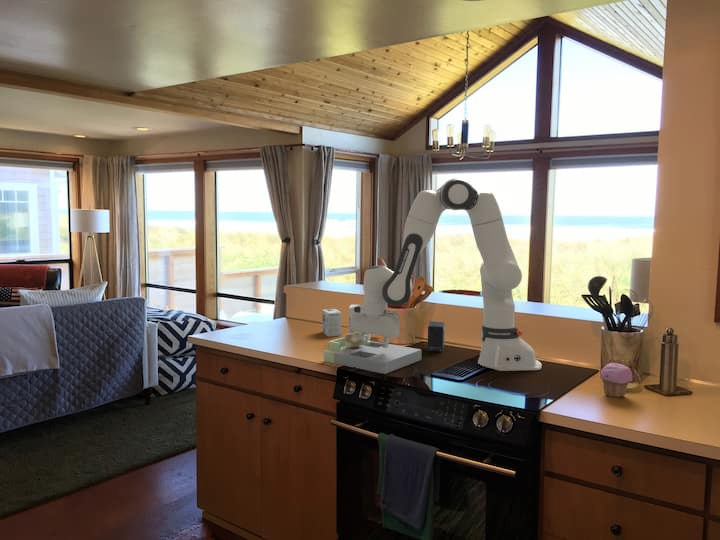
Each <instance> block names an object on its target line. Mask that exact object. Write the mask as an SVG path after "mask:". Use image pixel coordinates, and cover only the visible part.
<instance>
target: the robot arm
mask: <svg viewBox="0 0 720 540" xmlns="http://www.w3.org/2000/svg"><path fill="white" fill-rule="evenodd" d="M498 203H499V202H498V201H497V199H496V197H495V195H494V194H493V192H491V191H488V190H480V191H478V190H477V189H475V188H474V187H473V186H472V185H471V184H470V183H469V182H468V181H466V180H465V179H463V178H452V179H448V180H447V181H445V183H443V184H442V185H441V186H440V187H439V188H438V189H437V190H436V191H435V190H430V189H426V190H421V191H419V192H418V194H417V195H416V197H415V199H414V201H413V203H412V204H411V206H410V209H409V211H408V215H407V217H406V221H405V224H404V230H403V238H402V245H401V246H402V247H401V251H400V254H399V256H398V260H397V263H396V266H395V268H394V271H393V270H392V269H390V268H388V267H387V266H386V265H382V264H380V265H373V266H369V267H368V268H367V269H366V270H365V271H364V275H363V276H364V277H363V292H364V293H363V294H364V297H363V303H361V304H357V305H358V306H355V307H353V308H352V312H354V313H353V314H352V317H351V328H352V330H353V331H357V332H359V335H360V337H361V339H362V344H367V343H368V342H367V341H368V339H366V337H365V335H364V334H366V333H369V334H370V335H377V336H382V337H384V339H385V341H384V342H381V343H382V345H383V346H382V347H383V348H388V344H390V341H391V340H392V338H397V337H398V336H399V335H400V333H401V329H400V328H401V327H400V326H401V325H400V316H399V314H398V313H397V312H396V311H392V310H391V311H390V310H388V305H390V306H391V307H402V306H404V305H406V304H407V303H408V301H409V300H410V298H411V295H412V292H413V288H414V285H413V282H412V280H411V279H412V276H413V273H414V270H415V268H416V264H417V262H418V259H419V256H420V255H421V254H422V252H423V250H424V249H425V248H426V246H427V245H428V244H429V243H430V241H431V239H432V238H433V236H434V233H436V232H435V231H436V228H437V225H438V223H439V220H440V218H441V216H442V214H443V212H444V211H446V210H452V211H462V210H463V211H466V213H467V215H468V217H469V220H470V224H471V228H472V232H473V237H474V240H475V243H476V248H477V250H478V252H479V254H480V257H481V259H482V261H483V262H482V264H481V265H480V269H479V273H480V281H481V292H482V301H483V317H482V318H483V321H482V322H483V323H482V325H481V333H480V335H481V349H480V354H479V357H478V360H477V363H478V365H479V364H480V366H481V365H482V367H484V366H485V367H484V368H489V369H493V370H496V371H498V372H499V371H500V372H501V371H502V372H504V371H505V372H509V371H512V372H515V371H516V372H517V371H539V370H542V367H543V365H542V362H540V361H539V360H538V359H537V357H536V353H535V350H534V348H533V347H532V346H531V345H529V343H528V342H526V341H525V340H524V339H522V338H521V336H523V329H522V330H521V329H520V328H519V327H516V326H515V313H516V312H515V310H516V305H515V302H514V298H513V291H512V290H514V289H516V288H517V287H518V286H519V285H520V284H521V282H522V279H523V274H522V271H521V268H520V266H519V265H518V262H517V259H516V257H515V254H514V251H513V249H512V247H511V245H510V242H509V239H508V236H507V232H506V227H505V224H504V220H503V216H502V212H501V209H500V207H499V204H498Z"/></svg>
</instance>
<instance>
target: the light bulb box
mask: <svg viewBox="0 0 720 540" xmlns="http://www.w3.org/2000/svg"><path fill="white" fill-rule="evenodd" d="M321 313H322V324H321V325H322V326H321V327H322V329H321V330H322V333H323V334H324V335H325V336H327V337H341V336H342V314H343V313H342V312H341V311H340V310H338V309H337V308H330V309H329V308H327V309H322V312H321Z"/></svg>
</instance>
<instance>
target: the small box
mask: <svg viewBox="0 0 720 540" xmlns="http://www.w3.org/2000/svg"><path fill="white" fill-rule="evenodd" d="M445 325H446V324H445V322H444V321H432V320H431V321H429V323H428V325H427V345H426V346H427V347H426V350H427V351H426V352H435V353H436V352H437V353H438V352H439V353H440V352H441V353H442V352H443V351H444V347H445V331H446V329H445V327H446V326H445Z"/></svg>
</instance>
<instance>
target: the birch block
mask: <svg viewBox="0 0 720 540" xmlns="http://www.w3.org/2000/svg"><path fill="white" fill-rule="evenodd" d="M343 335H344V337H345V343H346V348H349V347H358V346H361V345H364V344H362V339H361V337H360V335H359V332H353V333H349V332H348V333H346V334H343Z"/></svg>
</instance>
